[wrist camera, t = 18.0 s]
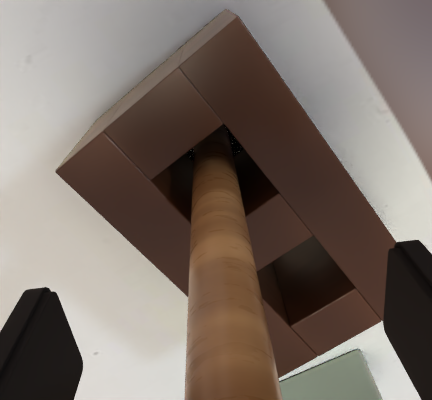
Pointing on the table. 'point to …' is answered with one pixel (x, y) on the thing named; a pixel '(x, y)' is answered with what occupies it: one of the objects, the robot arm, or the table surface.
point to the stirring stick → (224, 288)
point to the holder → (241, 189)
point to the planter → (333, 381)
